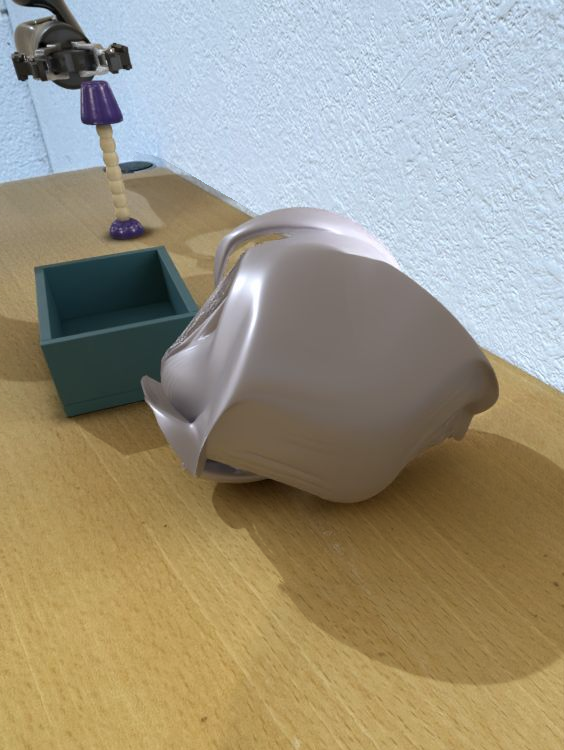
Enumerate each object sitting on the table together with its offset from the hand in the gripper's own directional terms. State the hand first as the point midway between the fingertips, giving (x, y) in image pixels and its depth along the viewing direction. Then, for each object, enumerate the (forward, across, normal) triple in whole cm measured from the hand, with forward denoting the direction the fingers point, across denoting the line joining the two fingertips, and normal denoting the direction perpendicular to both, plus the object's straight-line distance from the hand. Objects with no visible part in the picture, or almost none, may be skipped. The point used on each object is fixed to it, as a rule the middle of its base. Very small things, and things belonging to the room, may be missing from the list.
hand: (78, 67), depth 85 cm
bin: (+46, -6, +17) cm, 49 cm away
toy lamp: (+11, 0, +17) cm, 21 cm away
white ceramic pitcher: (+70, +2, +17) cm, 72 cm away
